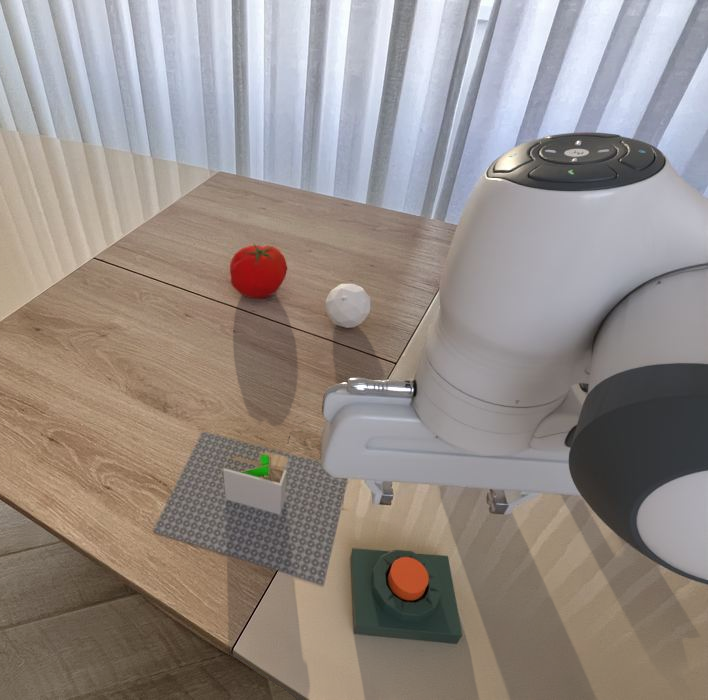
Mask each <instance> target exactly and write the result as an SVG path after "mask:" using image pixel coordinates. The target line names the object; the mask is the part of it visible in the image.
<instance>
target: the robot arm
mask: <svg viewBox="0 0 708 700" xmlns="http://www.w3.org/2000/svg"><path fill="white" fill-rule="evenodd" d="M438 299H439V309H438V313H437V314H436V316H435V317H434V318H433V320H432V321H431V322H430V324H429V326H428V328H427V330H426V332H425V336H424V340H423V343H422V347H421V351H420V355H419V358H418V361H417V366H416V368H415V369H416V370H415V372H414V377H413V380H411V379H409V380H408V379H395V378H394V379H390V378H389V379H369V378H367V377H348V378H347V379H346V382H345V381H344V382H339V383H336V384H333V385H332V386H328V387H327V388H326V389H325V391H324V393H323V397H322V404H321V413H322V415H323V418H324V424H323V428H322V434H321V444H320V447H321V449H320V458H321V461H320V462H322V468H323V469H324V470H325V471H326V472H327V473H328V474H329V475H331V476H332V477H336V478H348V479H351V480H362V481H363V480H364V484H365V485H366V487H367V488H368V489H369V490H370V491H371V492H370V493H371V504H372V505H374V506H375V505H379V506H392V501H393V499H394V496H395V495H394V488H393V483H403V484H417V485H429V486H430V485H431V486H442V487H443V486H444V487H457V488H470V489H485V490H489V491H488V492H487V493H486V504H487V505H488V506H489V507H488V512H489V513H490V514H493V515H502V516H503V515H504V516H510V515H511V514H512V512H513V511H514V509H515V508H516V506H519V505H521V504H524V503H526V502H527V501H530V500H533V499H535V498H537V497H539V496H540V494H548V495H549V494H551V495H565V496H575V497H582V499H583V500H584V501H585V502H586V504H587V505H588V506H589V508H590V509H591V510H592V511H593V513H595V515H596V516H597V517H598V518H599V519H600V520H601V521H602V522H603V523H604V524H605V525H606V526H607V527H608V528H609V529H610V530H611V531H612V532H613V533H614V534H615V535H617V536H618V538H620V539H621V540H622V541H624V542H625V543H626V544H628V545H629V546H630V547H632V548H633V549H634V550H636V551H637V552H639V554H642V555H643V556H644V557H646V558H648V559H649V560H651V561H652V562H654V563H656V564H658V565H659V566H661V567H663V568H664V569H666V570H667V571H669V572H670V571H671V572H672V573H674V574H676V575H679V576H681V577H684V578H686V579H689V580H692V581H694V582H697V583H701V584H704V585H707V586H708V197H706V196H705V195H703V194H702V193H701V192H699V190H697V189H695V188H694V187H693V186H692V185H691V184H690V183H688V182H687V181H686V180H685V179H684V178H683V177H682V176H681V175H680V174H679V173H678V172H677V171H676V170H675V168H674V166H673V165H672V164H671V162H670V160H669V158H668V157H667V155H666V154H665V153H664V152H662V151H661V150H660V149H659V148H657V147H656V146H654V145H652V144H650V143H647V142H645V141H642V140H638V139H635V138H630V137H626V136H622V135H620V134H615V133H607V132H587V131H585V132H583V131H581V132H567V133H558V134H551V135H546V136H543V137H542V138H537V139H533V140H530V141H528V142H523V143H521V144H518V145H516V146H514V147H513V148H511V149H509V150H508V151H507V152H505V153H503V154H502V155H500V156H499V157H497V158H496V159H495V160H494V161H493V162H492V163H491V164H490V165H489V166H488V167H487V168H486V169H485V170H484V171H483V172H482V174H481V176H480V177H479V178H478V180H477V181H476V183H475V184H474V186H473V188H472V190H471V192H470V194H469V196H468V198H467V200H466V203H465V205H464V206H463V209H462V212H461V214H460V217H459V220H458V222H457V226H456V229H455V230H454V233H453V236H452V239H451V242H450V245H449V250H448V251H447V255H446V258H445V262H444V266H443V269H442V273H441V276H440V279H439V286H438Z"/></svg>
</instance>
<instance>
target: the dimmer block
mask: <svg viewBox="0 0 708 700" xmlns="http://www.w3.org/2000/svg"><path fill="white" fill-rule="evenodd" d="M403 557H409V558H413V559H415V560H417V561H419V562H420V563H421V564H422V565H423V566H424V567H425V569H426V570H427V573H428V577H429V581H428V585H427V587H426V589H425V592H424V594H423V595H422V596H421V597H420V598H419V599H417V600H413V601H408V600H404V599H401V598H399V597H398V596H396V595H395V594H394V593H393V591H392V590H391V588H390V586H389V583H388V576H389V572H390V569H391V566H392V564H393V563H394V562H395V561H396V560H397V559H399V558H403ZM349 563H350V585H351V608H352V609H351V610H352V611H351V612H352V629H353V630H352V631H353V635H359V636H370V637H381V638H392V639H401V640H402V639H403V640H411V641H412V640H413V641H421V642H422V641H423V642H431V643H433V642H434V643H442V644H443V643H444V644H455V645H458V643H459V642H460V640H461V638H462V637H463V631H462V625H461V620H460V615H459V614H460V613H459V610H458V604H457V598H456V592H455V588H454V582H453V576H452V570H451V565H450V559H449V556H448V555H444V554H443V555H442V554H441V555H440V554H431V553H429V554H428V553H416V552H415V551H412V550H402V549H393V550H380V549H367V548H355V547H352V548H351V552H350V558H349Z"/></svg>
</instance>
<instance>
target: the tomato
mask: <svg viewBox="0 0 708 700" xmlns="http://www.w3.org/2000/svg"><path fill="white" fill-rule="evenodd" d="M287 271H288V265H287V260H286V258H285V256H284V255H283V253H282V252H281V251H280V250H279V249H278V248H277V247H275V246H274V245H265V246H262V245H256V244H255V243H253V245H248V246H245V247H242V248H240V249H239V250H238V251H237V252H236V253H235V254H234V255H233V257H232V259H231V260H230V264H229V272H230V273H229V274H230V283H231V285H232V287H233V288H234V289H235V290H236V291H237V292H238V293H240V294H241V295H243V296H245V297H248V298H254V299H265V298H267V297H270V296H271V295H273V294H274V293H276V292H277V291H278V289H279V288H280V286H281V285H282V283H283V281H284V280H285V278H286V275H287Z"/></svg>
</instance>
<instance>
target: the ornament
mask: <svg viewBox="0 0 708 700" xmlns="http://www.w3.org/2000/svg"><path fill="white" fill-rule="evenodd" d="M324 307H325V314H326V315H327V317H328V318H329V320H330V321H331V323H332V324H334V325H336V326H339V327H342V328H346V329H349V328H356V327H357V326H359V325H361V324H362V323H363V322H364V321H365V320H366V319H367V317H368V316H369V315H370V312H371V297H370V295H369V294H368V293H367V292H366V290H365V289H364V288H363V287H362V286H359V285H357V284H355V283H339V284H338V285H337V286H335V287H334V288H333V289H331V290H330V291H329V292H328V295H327V297H326V300H325V305H324Z"/></svg>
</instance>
